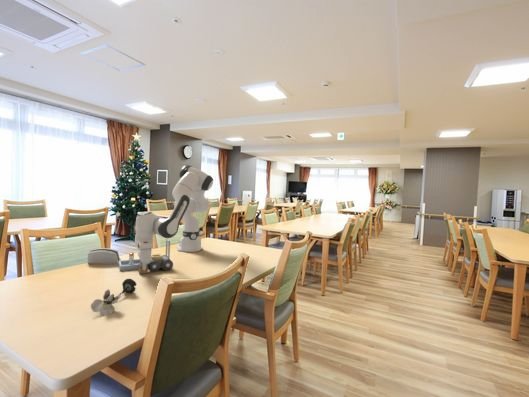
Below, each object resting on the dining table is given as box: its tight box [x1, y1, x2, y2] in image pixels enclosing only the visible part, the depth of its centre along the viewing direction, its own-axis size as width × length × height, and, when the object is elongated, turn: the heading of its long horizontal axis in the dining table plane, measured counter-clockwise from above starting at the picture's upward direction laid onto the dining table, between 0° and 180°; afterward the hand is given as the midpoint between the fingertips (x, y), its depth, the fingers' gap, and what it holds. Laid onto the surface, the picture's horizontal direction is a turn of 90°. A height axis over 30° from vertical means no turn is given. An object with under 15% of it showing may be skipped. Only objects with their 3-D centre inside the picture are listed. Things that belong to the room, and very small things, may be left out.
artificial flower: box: [90, 278, 137, 317], centre depth 107 cm, size 9×22×10 cm, turn 175°
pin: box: [128, 252, 135, 265], centre depth 153 cm, size 2×2×7 cm
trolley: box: [148, 238, 174, 273], centre depth 153 cm, size 13×12×16 cm
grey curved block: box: [87, 247, 122, 264], centre depth 158 cm, size 17×5×10 cm, turn 99°
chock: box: [137, 263, 149, 275], centre depth 145 cm, size 5×4×4 cm
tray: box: [117, 258, 140, 272], centre depth 154 cm, size 12×12×2 cm
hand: (143, 267), depth 145 cm, fingers open, 5 cm apart
